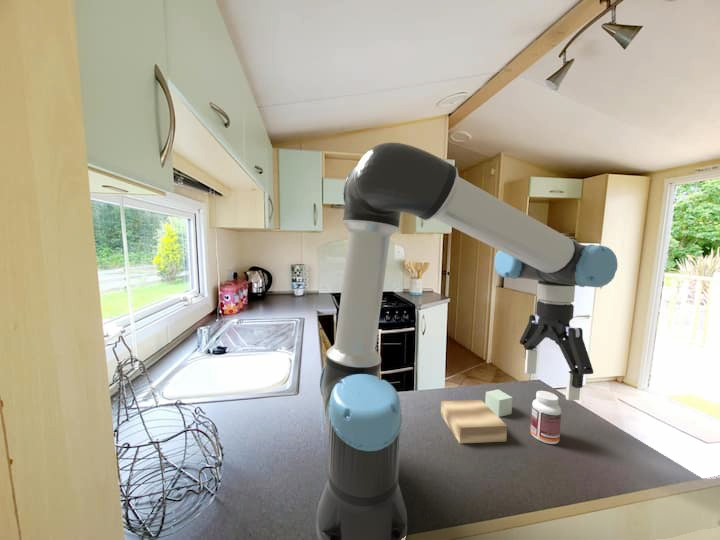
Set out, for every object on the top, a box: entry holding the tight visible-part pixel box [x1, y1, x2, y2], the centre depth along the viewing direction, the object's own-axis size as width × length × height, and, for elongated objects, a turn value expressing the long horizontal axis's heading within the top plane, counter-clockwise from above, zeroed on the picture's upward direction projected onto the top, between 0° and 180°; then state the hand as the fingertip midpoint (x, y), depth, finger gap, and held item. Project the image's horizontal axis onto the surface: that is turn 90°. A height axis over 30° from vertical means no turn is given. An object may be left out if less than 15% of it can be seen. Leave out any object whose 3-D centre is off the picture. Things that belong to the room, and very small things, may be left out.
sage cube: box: [484, 389, 513, 418], centre depth 83 cm, size 5×5×5 cm
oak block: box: [440, 399, 508, 444], centre depth 75 cm, size 12×12×4 cm
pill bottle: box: [530, 390, 562, 445], centre depth 71 cm, size 6×6×11 cm
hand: (549, 385), depth 71 cm, fingers open, 13 cm apart
